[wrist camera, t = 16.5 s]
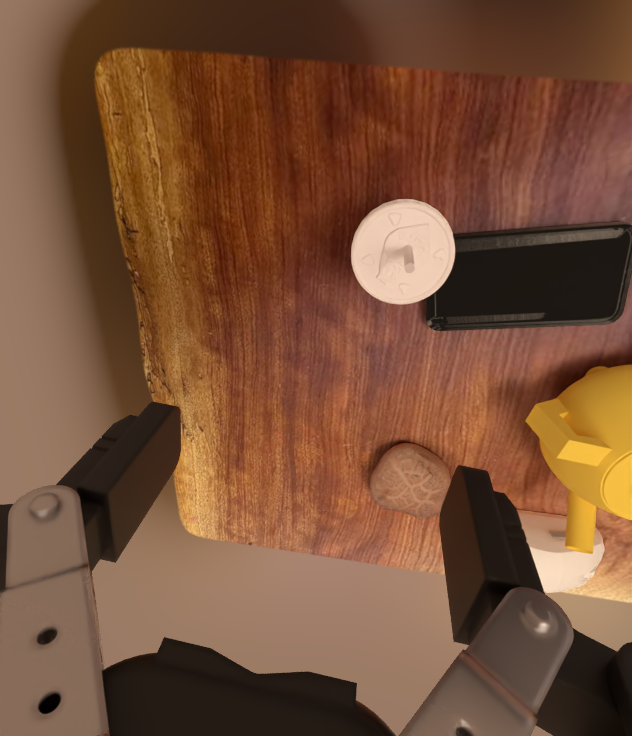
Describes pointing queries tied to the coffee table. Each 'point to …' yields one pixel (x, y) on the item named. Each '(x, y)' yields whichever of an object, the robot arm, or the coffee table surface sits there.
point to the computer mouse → (558, 552)
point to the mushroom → (410, 481)
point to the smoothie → (403, 251)
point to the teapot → (590, 448)
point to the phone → (535, 278)
